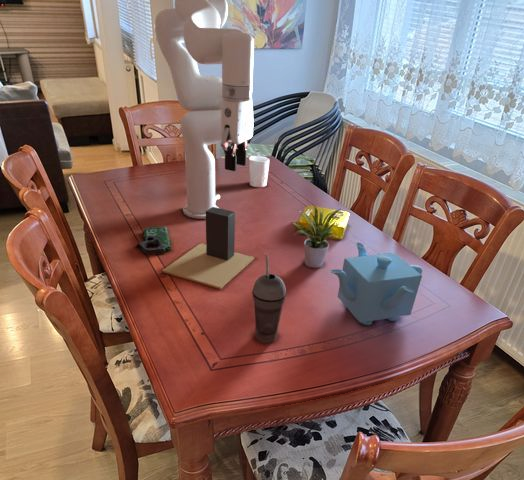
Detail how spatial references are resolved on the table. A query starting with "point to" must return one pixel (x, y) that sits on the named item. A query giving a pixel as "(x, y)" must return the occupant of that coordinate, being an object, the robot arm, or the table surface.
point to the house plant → (316, 238)
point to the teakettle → (378, 286)
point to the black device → (220, 233)
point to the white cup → (258, 171)
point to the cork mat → (207, 267)
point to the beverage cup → (268, 305)
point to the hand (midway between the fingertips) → (235, 166)
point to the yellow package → (338, 225)
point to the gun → (155, 240)
